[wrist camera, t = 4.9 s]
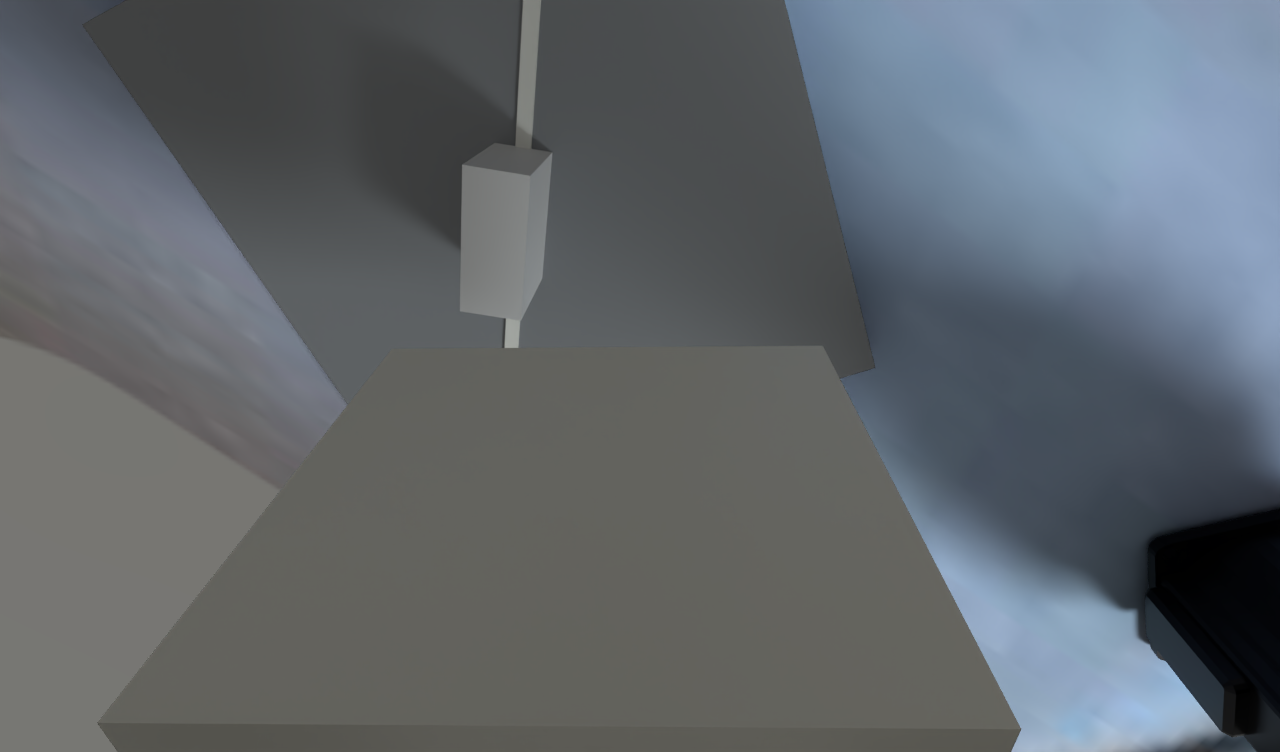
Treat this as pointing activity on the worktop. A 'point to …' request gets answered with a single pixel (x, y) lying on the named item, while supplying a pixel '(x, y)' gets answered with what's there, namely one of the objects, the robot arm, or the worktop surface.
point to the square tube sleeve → (578, 574)
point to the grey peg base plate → (504, 170)
